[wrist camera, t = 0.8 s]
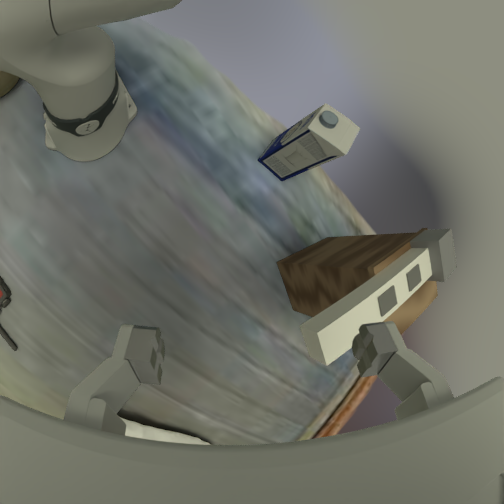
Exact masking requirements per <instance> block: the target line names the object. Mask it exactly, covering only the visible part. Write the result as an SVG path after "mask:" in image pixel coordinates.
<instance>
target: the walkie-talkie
mask: <svg viewBox="0 0 504 504" xmlns="http://www.w3.org/2000/svg"><path fill="white" fill-rule="evenodd" d="M10 296H11V291H10V290H9V288H8V287H7V285H6V284H5V282H4V281H3V279H2V278H1V276H0V310H1V308H2V307H3V308H5V307H6V306H7V305H8V304H9V303H10V299H8V298H9V297H10ZM0 334H1V335H2V337H3V338H4V339H5V340H6V342H7V343H8V344H9V345H10V346H11V348H12V349H13V350H14V351H16V350H17V347H16V346H15V344H14V343H13V342H12V341H11V339H10V338H9V337H8V336H7V334H6V333H5V332H4V331H3V329H2V328H1V327H0Z"/></svg>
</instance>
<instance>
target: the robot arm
mask: <svg viewBox="0 0 504 504" xmlns="http://www.w3.org/2000/svg"><path fill="white" fill-rule="evenodd" d="M181 1H182V0H0V71H4V72H7V73H10V74H13V75H15V76H18V77H20V78H22V79H24V80H25V81H27V82H29V83H30V84H31V85H32V86H33V87H34V88H35V89H36V91H37V92H38V94H39V96H40V97H41V99H42V100H43V106H44V110H45V112H44V119H46V124H45V125H44V126H45V129H46V138H45V144H46V146H47V148H48V149H51V150H56V151H60V152H61V153H62V154H64V155H65V156H66V157H68V158H70V159H72V160H75V161H82V162H85V161H92V160H95V159H98V158H100V157H102V156H104V155H106V154H107V153H109V152H110V151H111V150H113V149H114V148H115V147H116V146H117V144H118V143H119V142H120V140H121V139H122V137H123V135H124V133H125V130H126V127H127V125H128V124H129V122H130V121H131V120H132V119H133V118H134V117H135V116H136V114H137V107H136V105H135V104H134V102H133V100H132V98H131V96H130V95H129V93H128V91H127V89H126V87H125V86H124V84H123V82H122V80H121V78H120V77H119V75H118V73H117V71H116V69H115V46H114V43H113V41H112V39H111V38H110V37H109V35H108V34H107V33H106V32H105V31H104V30H102V29H101V28H99V27H97V25H102V24H107V23H112V22H118V21H125V20H129V19H132V18H136V17H140V16H143V15H147V14H151V13H155V12H159V11H162V10H167V9H171V8H173V7H175V6H176V5H177V4H179V3H180V2H181ZM129 106H131V107H130V108H129ZM358 330H359V334H357V335H356V336H355V337H354V339H353V342H352V351H353V355H354V357H355V358H357V359H358V360H359V361H358V363H357V367H358V370H359V373H360V376H361V377H367V376H373V375H377V376H378V377H379V378H380V379H381V380H382V381H383V382H384V383H385V384H386V385H387V386H388V387H389V388H390V389H391V391H393V392H394V394H395V395H396V396H397V397H398V398H399V399H400V400H401V401H402V403H401V404H400V405H399V406H398V407H396V409H395V413H396V417H397V420H395V421H392V422H388V423H385V424H382V425H378V426H374V427H370V428H366V429H362V430H358V431H354V432H349V433H344V434H339V435H334V436H328V437H323V438H316V439H310V440H302V441H294V442H284V443H273V444H257V445H201V444H185V443H173V442H164V441H156V440H149V439H142V438H136V437H130V436H125V432H126V424H125V422H124V421H123V420H122V419H121V418H120V417H119V416H118V415H117V413H118V411H119V410H120V409H121V408H122V407H123V405H124V404H125V403H126V402H127V400H128V399H129V398H130V397H131V396H132V394H133V393H134V392H135V391H136V389H137V388H138V387H139V386H140V385H141V384H140V383H144V384H156V385H160V384H161V377H162V369H161V366H160V365H161V364H162V363H163V362H164V356H165V347H164V341H163V339H162V338H160V336H161V331H160V328H158V327H148V326H138V325H128V324H123V325H122V326H121V327H120V330H119V333H118V337H117V340H116V343H115V347H114V350H113V354H112V357H111V358H110V357H108V358H107V359H106V360H105V361H104V362H102V363H101V364H100V365H99V366H98V367H97V368H96V369H95V370H94V371H93V372H91V373H90V374H89V375H88V376H87V377H86V378H85V379H84V380H83V381H82V382H81V383H80V384H78V385H77V386H76V387H75V388H74V389H73V390H72V391H71V394H70V397H69V401H68V404H67V408H66V412H65V416H64V420H62V419H59V418H56V417H53V416H51V415H48V414H45V413H42V412H40V411H37V410H35V409H32V408H30V407H27V406H25V405H22V404H20V403H18V402H16V401H14V400H11V399H9V398H7V397H5V396H1V395H0V504H504V379H503V378H502V377H496V378H494V379H491V380H490V381H488V382H486V383H484V384H482V385H480V386H478V387H477V388H475V389H473V390H471V391H469V392H467V393H464V394H462V395H460V396H458V397H456V398H454V397H453V394H452V392H451V390H450V387H449V385H448V383H447V381H446V378H445V376H444V375H443V374H441V373H440V372H439V371H438V370H436V369H435V368H434V367H433V366H431V365H430V364H429V363H427V362H426V361H425V360H424V359H422V358H421V357H420V356H418V355H417V354H416V353H415V352H413V351H412V350H411V349H407V347H406V345H405V343H404V341H403V339H402V337H401V335H400V333H399V331H398V329H397V327H396V325H395V323H394V322H393V321H387V322H377V323H368V324H362V325H361V326H360V328H359V329H358Z"/></svg>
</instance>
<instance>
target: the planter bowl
mask: <svg viewBox="0 0 504 504" xmlns="http://www.w3.org/2000/svg"><path fill="white" fill-rule="evenodd" d="M19 78H20V77H18V76H15V75H13V74H10V73H7V72H4V71H0V97H1V96H3V95H5V94H6V93H8V92H9V91H10V90H11V89H12V88H13V87H14V86H15V84H16V83H17V82H18V80H19Z"/></svg>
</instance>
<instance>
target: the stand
mask: <svg viewBox="0 0 504 504" xmlns="http://www.w3.org/2000/svg"><path fill="white" fill-rule="evenodd" d="M424 230H428V229H427V228H422V229H421V230H420V231H418V232H417V233H400V234H379V235H361V236H344V237H327V238H325V239H323V240H321V241H319V242H317V243H315V244H313V245H311V246H309V247H307V248H305V249H303V250H301V251H299V252H297V253H295V254H292V255H290V256H288V257H286V258H284V259H282V260H280V261H278V262H277V265H278V268H279V271H280V273H281V276H282V279H283V282H284V285H285V288H286V291H287V293H288V296H289V299H290V302H291V305H292V308H293V310H294V311H297V312H300V313H303V314H306V315H309V316H311V317H314V316H316V315H317V314H319V313H320V312H322V311H324V310H325V309H327V308H328V307H330V306H331V305H333V304H334V303H336V302H337V301H339V300H340V299H342V298H343V297H345V296H346V295H348V294H349V293H351V292H352V291H354V290H355V289H356V288H358V287H359V286H361V285H362V284H364V283H365V282H366V281H368V280H369V279H371V278H372V277H373V276H375V275H376V274H378V273H379V272H380V271H382V270H383V269H384V268H386V267H387V266H388V265H390V264H391V263H392V262H394V261H395V260H396V259H398V258H399V257H400V256H402V255H403V254H404V253H405V252H407V251H408V250H409V249H411V245H410V241H411V240H412V239H414V238H415V237H416V236H418V235H419V234H420V233H422V232H423V231H424ZM436 297H437V285H436V281H427V280H426V282H425V283H424V284H423V285H422V286H421V287H420V288H419V289H418V290H417V291H415V292H414V293H413V294H412V295H411V296H410V297H409V298H408V299H407V300H406V301H405V302H404V303H403V304H402V305H401V306H400V307H399V308H398V309H396V310H395V311H394V312H393V313H392V314H391V315H390V316H389V317H387V318H386V319H385V320H384V321H383V322H387V321H393V322H394V323H395V325H396V327H397V329H398V331H399V333H400V335H401V334H402V333H403V332H404V331H405V330H406V329H407V328H408V327H409V326H410V325H411V324H412V323H413V322H414V321H415V320H416V319H417V318H418V317H419V316H420V315H421V314H422V312H423V311H424V310H425V309H426V308H427V307H428V306H429V305H430V304H431V302H432V301H433V300H434V299H435V298H436Z"/></svg>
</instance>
